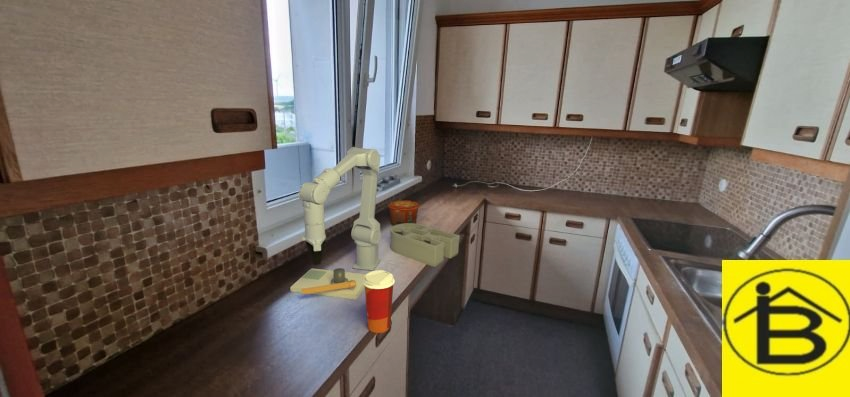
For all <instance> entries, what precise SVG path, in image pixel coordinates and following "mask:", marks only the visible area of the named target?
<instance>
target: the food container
mask: <svg viewBox="0 0 850 397" xmlns="http://www.w3.org/2000/svg"><path fill="white" fill-rule="evenodd" d="M387 207H388V210H389V218H390V225H392V227H393V226H395V225H398V224H404V223H414V224H417V218H418V211H419V209H420V204H419V203H418V202H417V201H412V200H402V199H401V200H400V199H399V200H395V201H391V202H389V203H388V205H387Z"/></svg>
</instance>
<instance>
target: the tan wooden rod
mask: <svg viewBox="0 0 850 397" xmlns="http://www.w3.org/2000/svg"><path fill="white" fill-rule="evenodd" d="M348 287H349V288H354V287H356V281H355V280H350V281H348V282H344V283H337V284H330V285H323V286H317V287H310V288H303V289H302V293H301V294H302V295H307V294H308V295H310V294H309V293H315V292H322V291H328V290H335V289H341V288H348Z"/></svg>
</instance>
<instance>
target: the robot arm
mask: <svg viewBox="0 0 850 397" xmlns="http://www.w3.org/2000/svg"><path fill="white" fill-rule="evenodd" d="M380 163H381V155H380V153H379V151H378V150H377V149H375V148H362V147H356V146H352V147H350V148H349V149H348V150H347V151H346V153H345V156H344V157H343V158H342V159H341V160H340V161H339V162H338V163H337V164H336V165H335V166H334V167H333V168H330V167H329V168H324V169H322V172H321V173H320V174H318V175H317V176H316V177H314V178H313V179H312V180H311V181H310V182H305V183H303V184H302V185H301V186H300V188H299V190H298V193H297V196H298V198H299V200H300V201H301V206H302V208H303V218H304V219H303V220H304V233H305V234H304V235H303V236H302V235H301V241H306V242H305V245H306V246H305V248H307V250H308V252H309V254H310V257H311V260H312V265H313V266H319V265H321V263H322V258H323V253H324V250H325V248H326V246H327V243H326V238H327V235H326V228H325V225H326V224H325V211H324V210H325V208H324V205H325V204H324V202H326V201H327V199H328V195H329V194H330V192H331V191H332V190H333V189H334V188H335V187H336V186H338V185H339V184H340V182H341V177H342V176H344V175H345V174H346V173H349V171H351V169H353V168H356V169H357V170H359V171H360V173H361V174H362V183H361V184H362V186H361V196H360V207H359V217H357V219H355V220H354V221H353V224H352V225H353V226H352V228H351V232H350V233H351V234H350V236H351V238H352V240H354V244H355V245H356V263H355V264H354V265H353V266H352V269H356V270H366V271H375V269H376V268H377V266H378V265H379V263H380V262H381V258H379V242H380V241H381V237H382V233H381V223H380V222H379V221H378V220H377V219H376V218H375V214H376V202H377V191H378V180H379V172H380V166H381V164H380Z"/></svg>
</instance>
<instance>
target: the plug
mask: <svg viewBox="0 0 850 397" xmlns="http://www.w3.org/2000/svg"><path fill="white" fill-rule="evenodd" d="M332 271H333V274H334V279H332V280H331V284H337V283H344V282H348V279H347V278H345V272H346V270H345V269H344V268H342V267H338V268H335V269H333V270H332Z"/></svg>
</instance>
